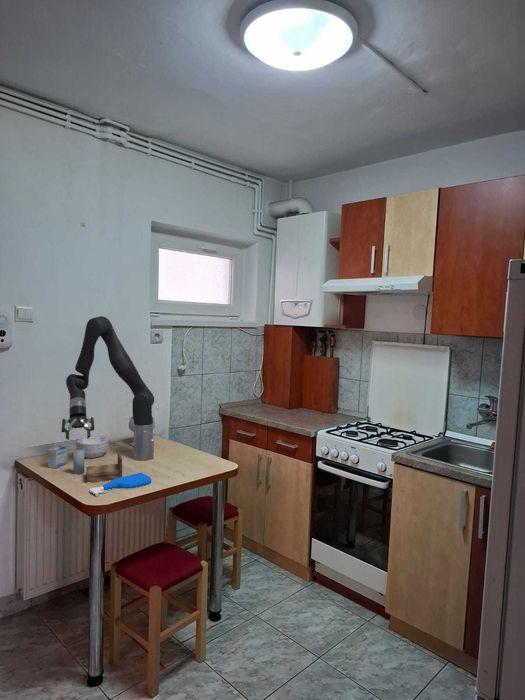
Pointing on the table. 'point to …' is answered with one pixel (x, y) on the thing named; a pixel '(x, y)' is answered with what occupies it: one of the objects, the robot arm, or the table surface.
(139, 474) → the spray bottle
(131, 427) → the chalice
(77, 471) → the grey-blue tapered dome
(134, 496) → the table surface
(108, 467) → the shelf step
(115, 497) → the table surface
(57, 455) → the medicine box
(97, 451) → the paper bowls
